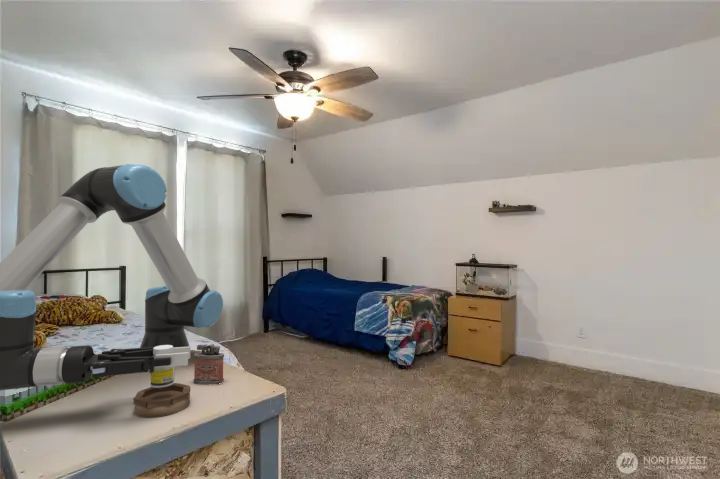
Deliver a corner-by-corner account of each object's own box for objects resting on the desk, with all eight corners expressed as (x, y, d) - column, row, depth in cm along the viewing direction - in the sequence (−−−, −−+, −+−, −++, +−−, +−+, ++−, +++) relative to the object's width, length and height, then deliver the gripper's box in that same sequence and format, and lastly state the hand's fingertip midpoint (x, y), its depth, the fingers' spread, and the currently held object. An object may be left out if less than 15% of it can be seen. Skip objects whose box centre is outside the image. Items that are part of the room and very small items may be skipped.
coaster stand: (140, 400, 87) (140, 386, 87) (191, 394, 90) (192, 381, 90) (128, 420, 76) (129, 405, 76) (187, 413, 80) (187, 398, 80)
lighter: (226, 380, 100) (226, 343, 100) (220, 385, 96) (220, 346, 97) (197, 379, 101) (198, 342, 101) (190, 384, 97) (191, 345, 98)
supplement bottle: (156, 381, 85) (157, 344, 86) (177, 380, 86) (178, 344, 86) (146, 388, 81) (147, 349, 81) (168, 388, 81) (169, 349, 81)
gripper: (81, 370, 86) (192, 361, 93) (46, 399, 69) (184, 385, 77) (83, 337, 86) (192, 331, 94) (48, 358, 69) (185, 348, 77)
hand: (188, 355), depth 85 cm, fingers closed on supplement bottle, 5 cm apart
